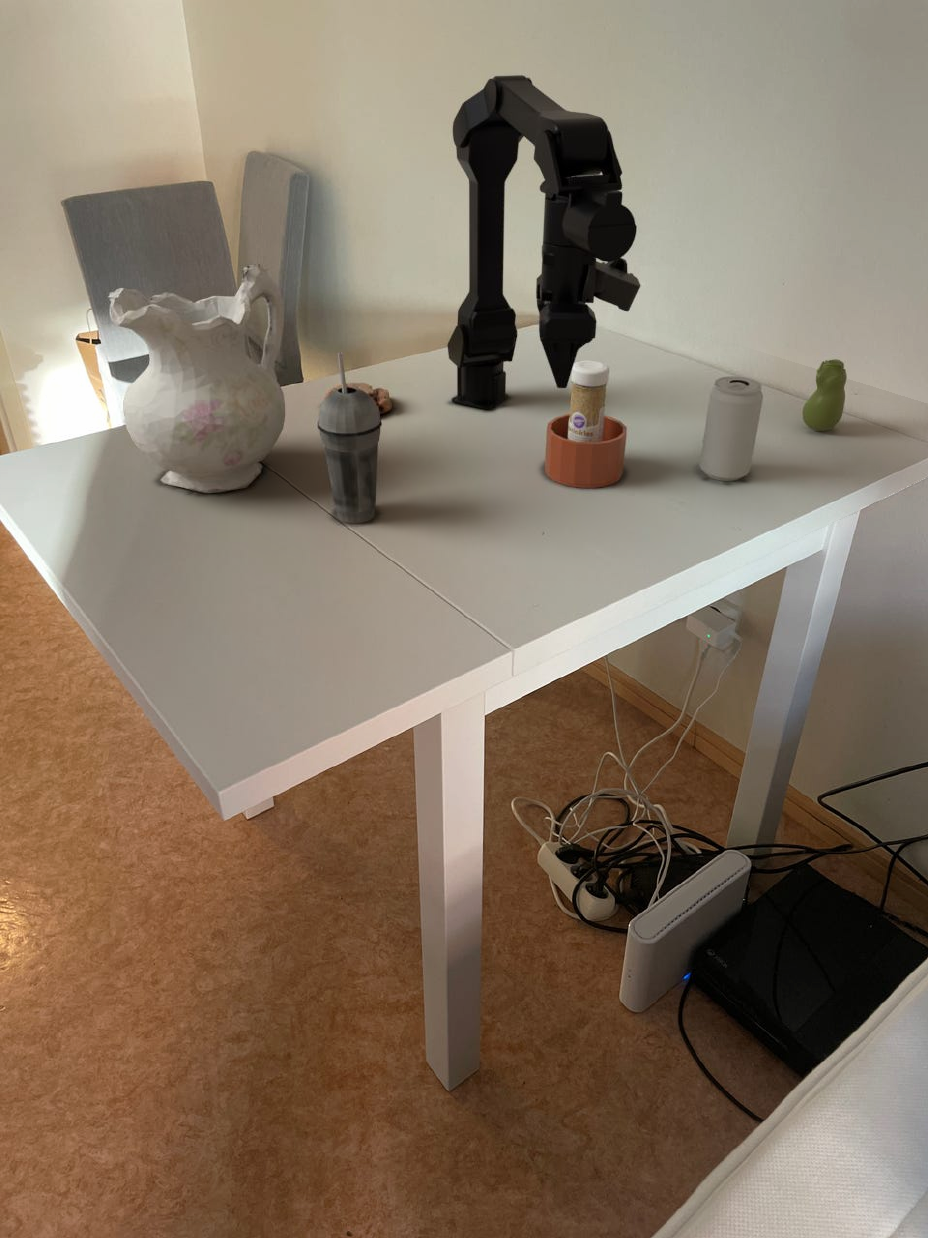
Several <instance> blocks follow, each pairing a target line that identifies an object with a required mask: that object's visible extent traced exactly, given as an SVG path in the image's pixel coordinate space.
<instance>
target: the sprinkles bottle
mask: <svg viewBox="0 0 928 1238" xmlns="http://www.w3.org/2000/svg"><path fill="white" fill-rule="evenodd" d="M609 379H610V367H609V365H608V364H606V363H604V362H602V361H598V360H589V359H588V360H580V361H577V362H574V365H573V368H572V371H571V375H570V380H571V385H572V386H571V395H570V408H569V414H570V417H569V427H568V440H573V441H577V442H591V443H594V442H602V434H603V422H604V416H605V409H606V396H607V395H606V394H607V385H608V383H609Z"/></svg>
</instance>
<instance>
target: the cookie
mask: <svg viewBox="0 0 928 1238" xmlns="http://www.w3.org/2000/svg"><path fill="white" fill-rule="evenodd" d="M346 387H354V388H358V389H360V390H362V391H364V392H366V393H367V394H368V395H369V396H370V397H371V398H372V399H373V400H374V402H375V403H376V405H377V407H378V411H379V415H382V414H387V412H390V411H391V410H392V408H393V403H392V399H391V397H390V392H389V390H388V389H384V388H382V387H377V388H375V389H374V388H373V386H372V385H371V384H368V383H364V382H346ZM339 388H342V384H339V385H337V386H334V387H333V388H330V389H329V390H328V391H326V393H325V395H324V398H323V401H324V400H325V399H326V397H327V396H328V395H329V394H330V393H331V392H333V391H335V390H336V389H339Z"/></svg>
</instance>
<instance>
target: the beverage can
mask: <svg viewBox="0 0 928 1238" xmlns="http://www.w3.org/2000/svg"><path fill="white" fill-rule="evenodd" d="M762 385H763V384H762V383H760V382H759V381H757V380H755V379H753V378H749V377H746V376H735V375H734V376H730V375H729V376H722V377H719V378H717V379H716V380H714V386H713V387H712V388H711V389H710V392H709V398H708V404H707V411H706V419H705V425H704V432H703V439H702V444H701V451H700V457H699V458H700V459H699V468H700V469H701V471H702V472H704V474H705V475H706V476H707V477H708V478H711V479H714V480H716V481H721V482H734V481H738V480H740V479H741V478H743V477H745V476H747V475H748V474H749V472H751V468H752V467H751V466H752V461H753V457H754V456H753V455H754V450H755V444H756V438H757V433H758V429H759V422H760V417H761V412H762V411H761V409H762V407H763V406H762V405H763V401H764V394H763V392H762V387H763V386H762Z"/></svg>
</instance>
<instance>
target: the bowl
mask: <svg viewBox="0 0 928 1238" xmlns="http://www.w3.org/2000/svg"><path fill="white" fill-rule="evenodd" d="M569 417H570V413H566V414H563V415H559V416H556V417H554V418H553V419H551V420H549V422H548V423H547V427H546V441H545V459H544V471H545V472H544V473H545V474H546V476H547V477H548V478H549V479H550V480H552V481H553V482H556V483H558V484H561V485H563V486H567V487H571V488H579V489H580V488H581V489H595V488H603V487H607V486H610V485H613V484H615V483H617V482H619V480H620V479H621V478H622V477H623V473H624V465H625V456H626V455H625V454H626V446H627V445H626V444H627V434H628V427H627V426H626V425H625V424H624V423H623V422H622V421H621V420H618V419H617V418H614V417H612V416H610V415H609V416H608V415H604V422H603V434H602V442H594V443H591V442H577V441H573V440H568V427H569Z"/></svg>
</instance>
